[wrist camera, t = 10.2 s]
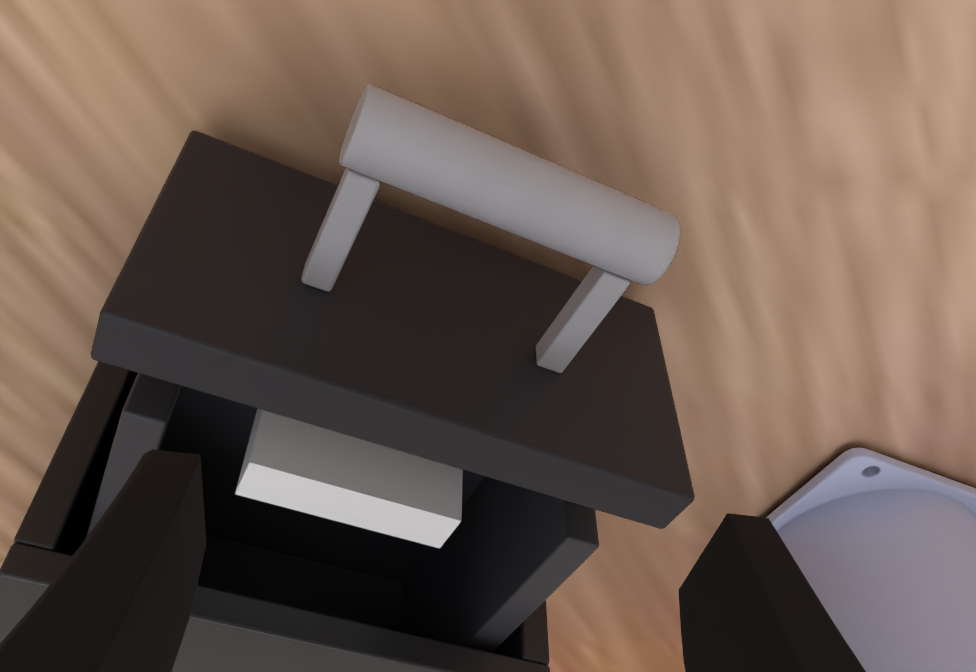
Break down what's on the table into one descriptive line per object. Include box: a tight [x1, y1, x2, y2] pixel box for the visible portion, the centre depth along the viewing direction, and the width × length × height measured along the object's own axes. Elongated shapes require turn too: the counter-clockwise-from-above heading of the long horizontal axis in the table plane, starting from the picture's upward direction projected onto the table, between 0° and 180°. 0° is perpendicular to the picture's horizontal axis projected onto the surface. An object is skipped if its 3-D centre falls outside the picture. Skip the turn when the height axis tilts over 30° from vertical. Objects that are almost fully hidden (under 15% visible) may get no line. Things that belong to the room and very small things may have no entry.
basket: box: [86, 85, 695, 653], centre depth 20 cm, size 18×11×6 cm, turn 154°
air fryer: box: [0, 361, 550, 672], centre depth 26 cm, size 15×13×8 cm
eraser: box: [235, 408, 463, 548], centre depth 20 cm, size 1×5×4 cm, turn 65°
